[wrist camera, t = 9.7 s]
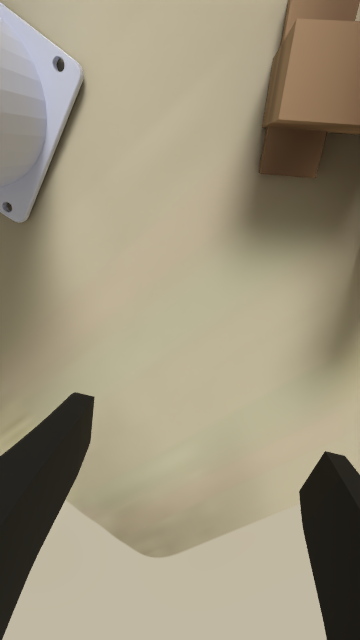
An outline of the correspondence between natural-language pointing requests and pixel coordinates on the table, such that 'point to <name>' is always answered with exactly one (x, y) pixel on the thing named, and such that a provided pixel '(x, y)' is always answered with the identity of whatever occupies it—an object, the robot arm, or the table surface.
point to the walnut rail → (312, 85)
